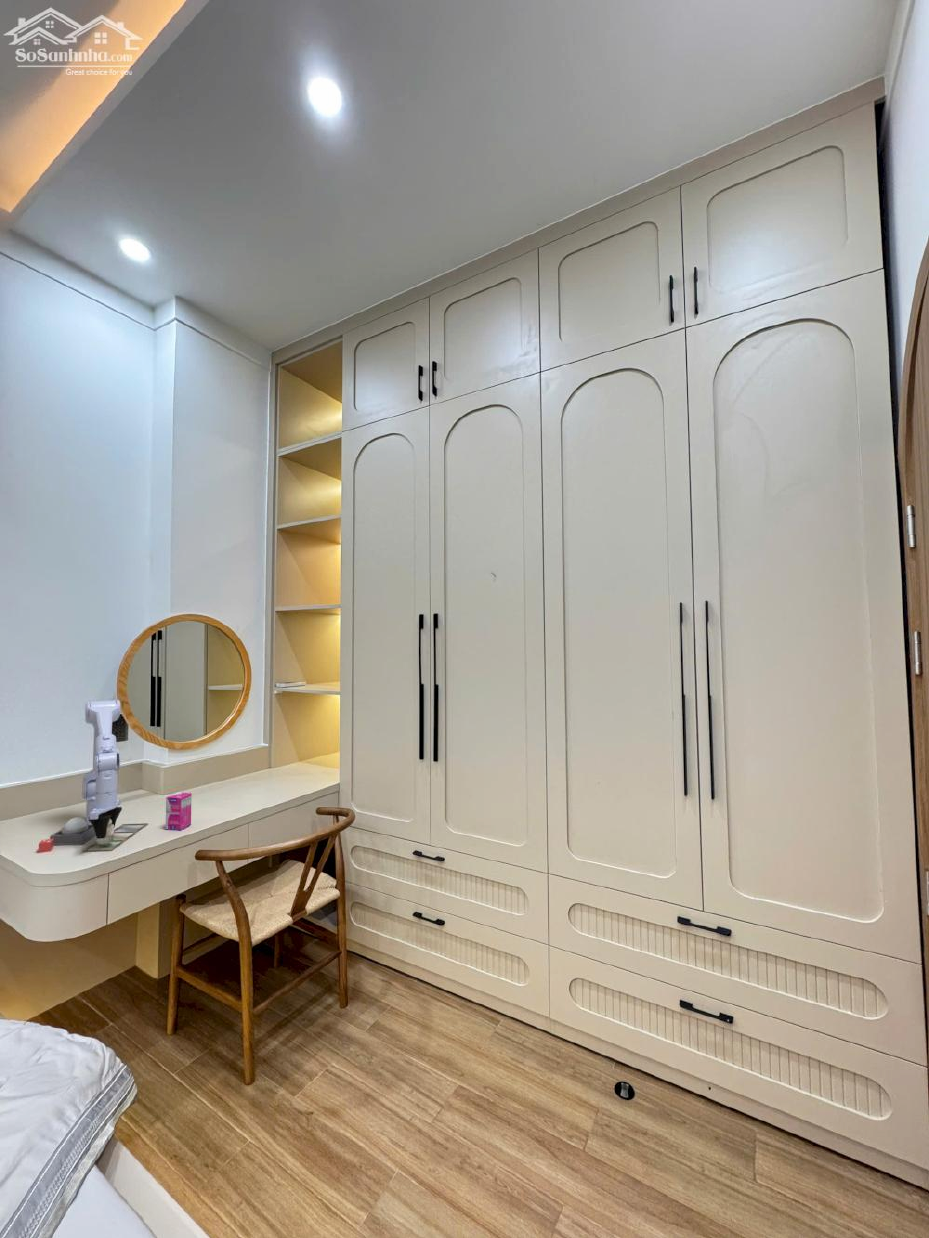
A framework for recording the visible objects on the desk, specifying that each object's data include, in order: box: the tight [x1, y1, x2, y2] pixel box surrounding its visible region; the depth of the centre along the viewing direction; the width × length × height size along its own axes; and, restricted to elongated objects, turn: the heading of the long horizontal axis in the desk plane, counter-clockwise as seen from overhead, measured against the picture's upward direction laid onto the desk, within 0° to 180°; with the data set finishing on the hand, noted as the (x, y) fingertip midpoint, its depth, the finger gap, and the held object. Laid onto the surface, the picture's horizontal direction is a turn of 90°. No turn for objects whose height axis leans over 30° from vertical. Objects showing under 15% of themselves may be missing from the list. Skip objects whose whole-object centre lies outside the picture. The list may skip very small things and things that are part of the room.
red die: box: [38, 838, 55, 854], centre depth 161 cm, size 3×3×3 cm
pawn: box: [96, 819, 115, 844], centre depth 165 cm, size 4×4×7 cm
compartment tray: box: [82, 822, 149, 853], centre depth 172 cm, size 23×8×1 cm, turn 7°
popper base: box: [49, 825, 97, 847], centre depth 170 cm, size 11×11×3 cm
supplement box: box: [165, 791, 193, 832], centre depth 181 cm, size 6×6×12 cm
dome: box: [61, 816, 88, 835], centre depth 171 cm, size 7×7×6 cm
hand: (105, 835), depth 165 cm, fingers closed on pawn, 4 cm apart
